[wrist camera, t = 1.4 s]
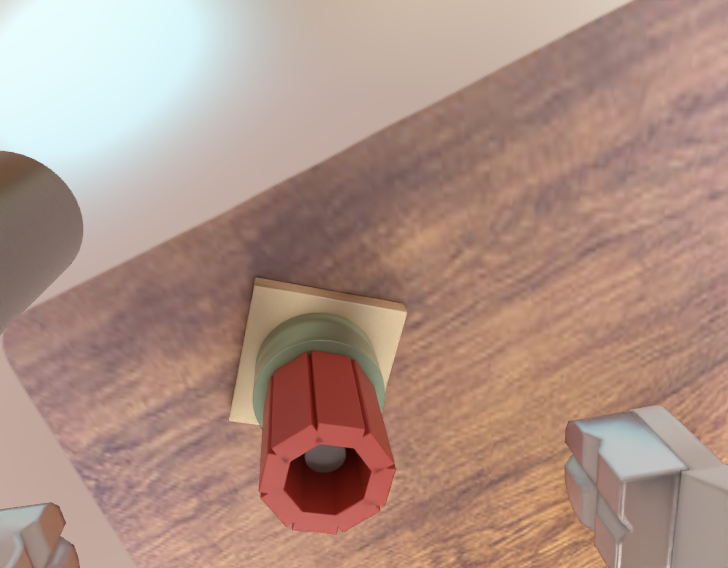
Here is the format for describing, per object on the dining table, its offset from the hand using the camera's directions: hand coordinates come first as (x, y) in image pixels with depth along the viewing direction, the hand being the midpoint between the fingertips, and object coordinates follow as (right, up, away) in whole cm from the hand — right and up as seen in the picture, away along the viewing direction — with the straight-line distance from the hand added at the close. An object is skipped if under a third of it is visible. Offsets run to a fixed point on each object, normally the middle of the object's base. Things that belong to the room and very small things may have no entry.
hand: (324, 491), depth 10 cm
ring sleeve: (-2, -4, +27) cm, 27 cm away
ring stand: (-3, -2, +32) cm, 32 cm away
